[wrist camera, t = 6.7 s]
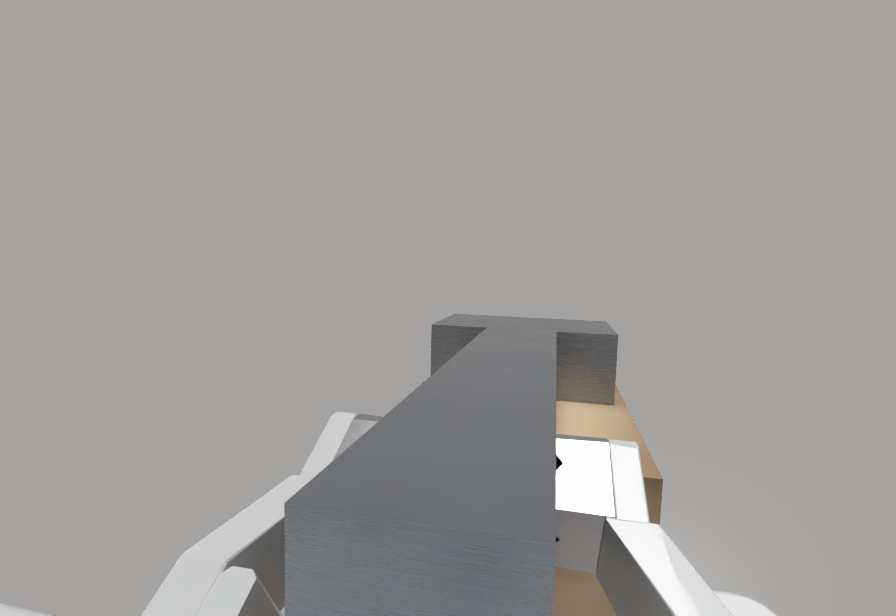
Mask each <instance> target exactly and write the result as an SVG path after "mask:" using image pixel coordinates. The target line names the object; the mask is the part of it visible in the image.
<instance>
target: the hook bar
mask: <svg viewBox="0 0 896 616" xmlns="http://www.w3.org/2000/svg"><path fill="white" fill-rule="evenodd" d="M431 340H432V341H431V376H430V377H429V378H428V379H427V380H426V381H425V382H423V383H422V384H421V385H420V386H419V387H418V388H416V389H415V390H414V391H413V392H412V393H411V394H410V395H408V396H407V397H406V398H405V399H404V400H403V401H401V402H400V403H399V404H398V405H397V406H396V407H395V408H393V409H392V410H391V411H390V412H389V413H388V414H386V415H385V416H384V417H383V418H382V419H381V420H380V421H378V422H377V423H376V424H375V425H374V426H373V427H371V428H370V429H369V430H368V431H367V432H366V433H365V434H363V435H362V436H361V437H360V438H359V439H358V440H356V441H355V442H354V443H353V444H352V445H351V446H350V447H348V448H347V449H346V450H345V451H344V452H343V453H341V454H340V455H339V456H338V457H337V458H336V459H335V460H333V461H332V462H331V463H330V464H329V465H328V466H326V467H325V468H324V469H323V470H322V471H321V472H320V473H318V474H317V475H316V476H315V477H314V478H313V479H311V480H310V481H309V482H308V483H307V484H306V485H305V486H303V487H302V488H301V489H300V490H299V491H298V492H296V493H295V494H294V495H293V496H292V497H291V498H290V499H288V500H287V501H286V502H285V503H284V535H285V616H552V611H553V591H554V572H555V552H556V401H567V402H579V403H590V404H602V405H613V406H614V395H615V379H616V361H617V345H618V334H617V333H616V332H615V331H614V330H613V329H612V328H611V327H610V325H609V324H608V323H607V322H604V321H584V320H564V319H544V318H524V317H505V316H485V315H465V314H454V315H452V316H449V317H447V318H445V319H443V320H441V321H439V322H436V323H434V324H432V339H431Z"/></svg>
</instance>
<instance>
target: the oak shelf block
mask: <svg viewBox="0 0 896 616" xmlns="http://www.w3.org/2000/svg"><path fill="white" fill-rule="evenodd" d="M556 434H562V435H573V436H584V437H596V438H607V440H608V439H612V440H622V441H632V442H636V443H637V445H638V446H639V451H640V458H641V465H642V472H643V479H644V485H645V492H646V499H647V506H648V513H649V519H650V523H653V524H660V512H661V498H662V484H663V479H662V477H661V475H660V473H659V471H658V469H657V467H656V465H655V463H654V461H653V459H652V457H651V455H650V453H649V451H648V449H647V447H646V445H645V443H644V441H643V439H642V437H641V435H640V433H639V431H638V429H637V427H636V425H635V423H634V421H633V419H632V417H631V415H630V413H629V411H628V409H627V407H626V405H625V403H624V401H623V399H622V397H621V395H620V393H619V391H618V389H617V387H616V385H615V395H614V406H613V405H602V404H590V403H579V402H567V401H556ZM552 616H617V614H616V612H615V610H614V608H613V607H612V605H611V603H610V601H609V599H608V597H607V596H606V594H605V592H604V590H603V588H602V586H601V585H600V583H599V581H598V579H597V577H596V574H594V573H589V572H584V571H578V570H573V569H568V568H562V567H557V566H555V572H554V591H553V611H552Z"/></svg>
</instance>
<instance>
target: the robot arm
mask: <svg viewBox="0 0 896 616" xmlns="http://www.w3.org/2000/svg"><path fill="white" fill-rule="evenodd" d="M382 418H383V417H380V416H372V415H364V414H355V413H347V412H338V411H337V412H335V413H334V414H333V415H332V416H331V417H330V419H329V421H328V423H327V424H326V426H325V428H324V430H323V432H322V434H321V436H320V437H319V439H318V441H317V443H316V445H315V447H314V449H313V451H312V452H311V454H310V456H309V458H308V460H307V462H306V463H305V465H304V467H303V469H302V471H301V473H300V474H299V475H292V476H290V477H289V478H287V479H286V480H285V481H283V482H282V483H280V484H279V485H278V486H276V487H275V488H273V489H272V490H271V491H269V492H268V493H266V494H265V495H264V496H262V497H261V498H260V499H258V500H257V501H255V502H254V503H252V504H251V505H250V506H248V507H247V508H245V509H244V510H243V511H241V512H240V513H238V514H237V515H236V516H234V517H233V518H231V519H230V520H229V521H227V522H226V523H224V524H223V525H222V526H220V527H219V528H217V529H216V530H215V531H213V532H212V533H211V534H209V535H208V536H206V537H205V538H204V539H202V540H201V541H199V542H198V543H197V544H195V545H194V546H192V547H191V548H190V549H188V550H187V551H185V552H184V553H183V554H182V555H181V556H180V558H179V559H178V561H177V563H176V564H175V565H174V567H173V568H172V570H171V572H170V573H169V575H168V576H167V578H166V579H165V581H164V582H163V583H162V585H161V586H160V588H159V589H158V591H157V593H156V594H155V596H154V597H153V598H152V600H151V601H150V603H149V604H148V606H147V608H146V609H145V610H144V612H143V614H142V615H141V616H282V614H281V612H280V611H281V609H282V608H283V607H284V606H285V535H284V503H285V502H286V501H287V500H288V499H290V498H291V497H292V496H293V495H294V494H295V493H296V492H298V491H299V490H300V489H301V488H302V487H303V486H305V485H306V484H307V483H308V482H309V481H310V480H311V479H313V478H314V477H315V476H316V475H317V474H318V473H320V472H321V471H322V470H323V469H324V468H325V467H326V466H328V465H329V464H330V463H331V462H332V461H333V460H335V459H336V458H337V457H338V456H339V455H340V454H341V453H343V452H344V451H345V450H346V449H347V448H348V447H350V446H351V445H352V444H353V443H354V442H355V441H356V440H358V439H359V438H360V437H361V436H362V435H363V434H365V433H366V432H367V431H368V430H369V429H370V428H371V427H373V426H374V425H375V424H376V423H377V422H378V421H380V420H381V419H382ZM555 566H557V567H562V568H568V569H573V570H578V571H584V572H589V573H594V574H596V577H597V579H598V581H599V583H600V585H601V586H602V588H603V590H604V592H605V594H606V596H607V597H608V599H609V601H610V603H611V605H612V607H613V608H614V610H615V612H616V614H617V616H732V615H731V613H730V612H729V611H728V610H727V608H726V607H725V606H724V605H723V603H722V602H721V601H720V600H719V599H718V597H717V596H716V595H715V594H714V592H713V591H712V590H711V589H710V587H709V586H708V585H707V584H706V582H705V581H704V580H703V579H702V577H701V576H700V575H699V574H698V572H697V571H696V570H695V569H694V568H693V566H692V565H691V564H690V563H689V561H688V560H687V559H686V557H685V556H684V555H683V554H682V553H681V551H680V550H679V549H678V548H677V546H676V545H675V544H674V542H673V541H672V540H671V539H670V538H669V536H668V535H667V534H666V533H665V531H664V530H663V529H662V528H661V526H660V525H659V524H653V523H650V519H649V513H648V506H647V499H646V492H645V485H644V479H643V472H642V465H641V458H640V451H639V446H638V445H637V443H636V442H632V441H622V440H612V439H608V440H607V438H596V437H584V436H573V435H562V434H556V552H555ZM0 616H54V615H50V614H46V613H42V612H37V611H33V610H29V609H25V608H20V607H16V606H12V605H8V604H3V603H0Z"/></svg>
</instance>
